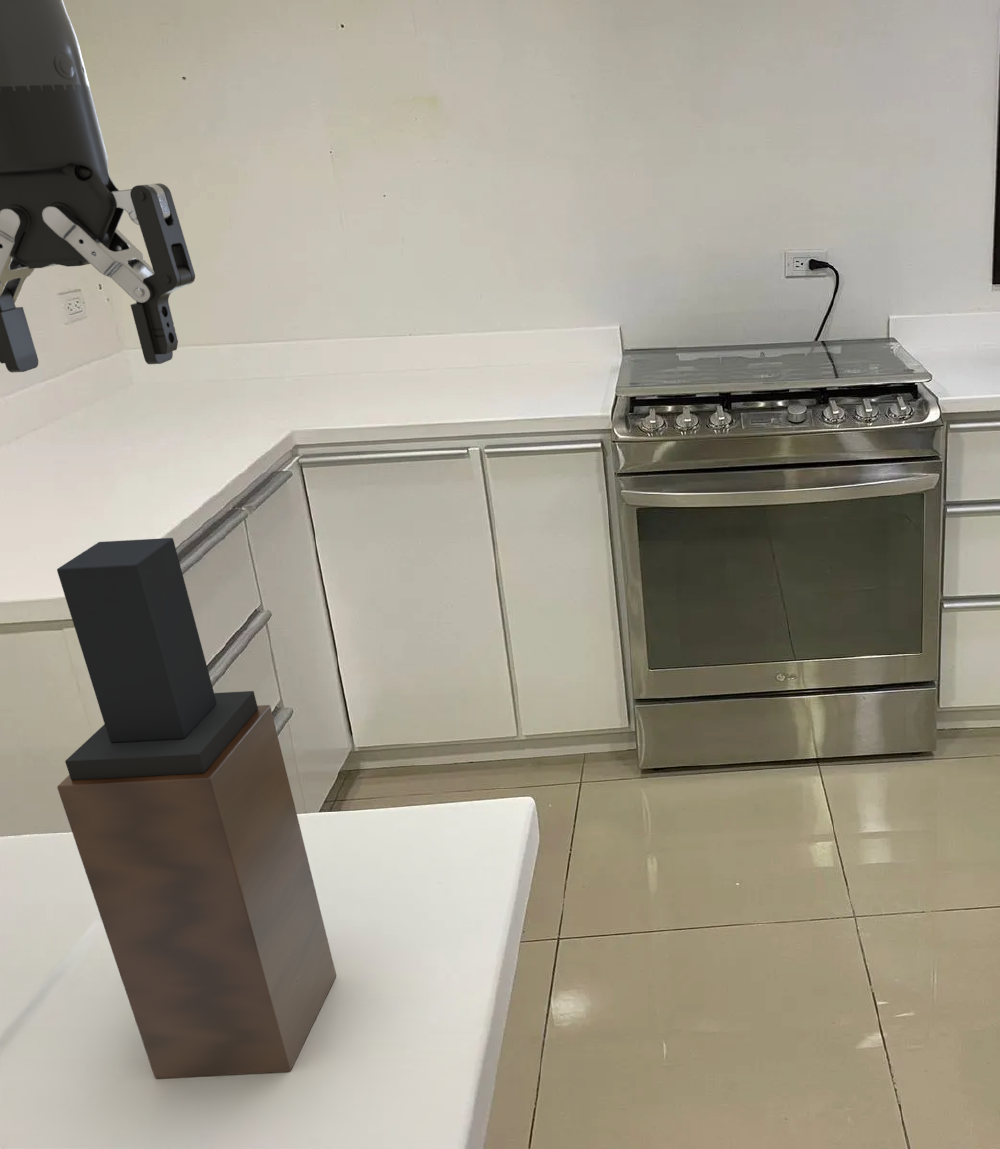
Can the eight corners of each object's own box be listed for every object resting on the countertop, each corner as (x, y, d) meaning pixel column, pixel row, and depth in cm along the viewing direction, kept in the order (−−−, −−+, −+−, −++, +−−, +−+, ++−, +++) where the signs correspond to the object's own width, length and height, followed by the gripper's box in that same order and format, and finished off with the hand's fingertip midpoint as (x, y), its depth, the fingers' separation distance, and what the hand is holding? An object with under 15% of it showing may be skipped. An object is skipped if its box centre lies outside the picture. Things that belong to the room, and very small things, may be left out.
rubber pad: (70, 780, 58) (64, 760, 58) (138, 715, 65) (133, 697, 65) (204, 773, 58) (198, 753, 58) (258, 708, 65) (253, 690, 64)
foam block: (109, 743, 60) (55, 569, 56) (146, 707, 63) (98, 541, 59) (184, 739, 60) (135, 564, 56) (217, 703, 63) (173, 537, 59)
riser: (154, 1078, 65) (55, 786, 58) (214, 982, 73) (134, 711, 65) (290, 1071, 65) (209, 778, 58) (337, 975, 73) (270, 704, 65)
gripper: (169, 78, 67) (231, 349, 73) (-67, 91, 67) (14, 360, 73) (103, 73, 60) (177, 372, 66) (-161, 88, 60) (-62, 385, 66)
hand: (92, 366), depth 70 cm, fingers open, 8 cm apart
